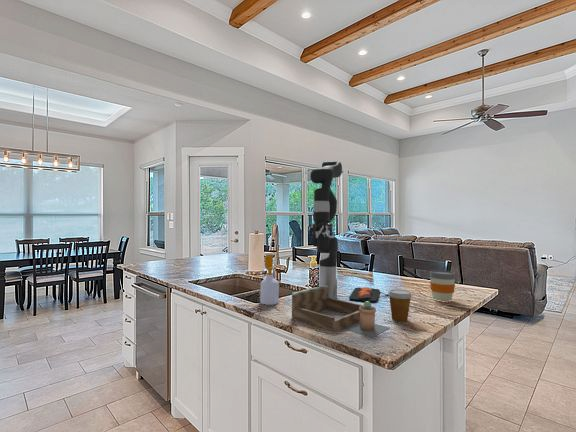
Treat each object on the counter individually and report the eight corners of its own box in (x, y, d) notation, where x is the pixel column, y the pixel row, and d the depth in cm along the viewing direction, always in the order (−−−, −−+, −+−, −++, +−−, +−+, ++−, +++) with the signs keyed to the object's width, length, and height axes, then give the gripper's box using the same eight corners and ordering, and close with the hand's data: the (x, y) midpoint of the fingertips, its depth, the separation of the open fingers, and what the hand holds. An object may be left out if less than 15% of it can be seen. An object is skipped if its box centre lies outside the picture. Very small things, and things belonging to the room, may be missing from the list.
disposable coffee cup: (406, 316, 141) (406, 289, 141) (415, 323, 132) (415, 294, 132) (384, 316, 141) (385, 288, 141) (392, 323, 132) (392, 294, 132)
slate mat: (363, 321, 134) (363, 320, 134) (390, 328, 126) (390, 327, 126) (344, 329, 124) (344, 328, 124) (372, 337, 116) (372, 336, 116)
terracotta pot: (363, 324, 129) (364, 298, 129) (378, 328, 125) (378, 301, 125) (355, 328, 124) (356, 301, 124) (370, 332, 120) (371, 304, 120)
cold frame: (325, 307, 154) (326, 284, 154) (367, 317, 138) (368, 292, 138) (291, 318, 136) (291, 293, 136) (335, 331, 121) (335, 303, 121)
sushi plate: (355, 290, 194) (355, 283, 194) (408, 294, 184) (408, 288, 184) (348, 301, 167) (348, 294, 167) (409, 308, 157) (409, 300, 157)
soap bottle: (262, 305, 155) (263, 255, 155) (258, 301, 164) (259, 253, 164) (280, 304, 157) (280, 254, 157) (275, 300, 166) (276, 252, 166)
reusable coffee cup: (457, 304, 162) (457, 275, 162) (430, 302, 166) (430, 273, 166) (453, 298, 174) (453, 271, 174) (428, 296, 178) (428, 269, 178)
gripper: (324, 211, 156) (323, 244, 156) (305, 210, 146) (304, 246, 146) (336, 211, 151) (336, 245, 151) (318, 210, 141) (317, 247, 141)
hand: (321, 245), depth 148 cm, fingers open, 8 cm apart
